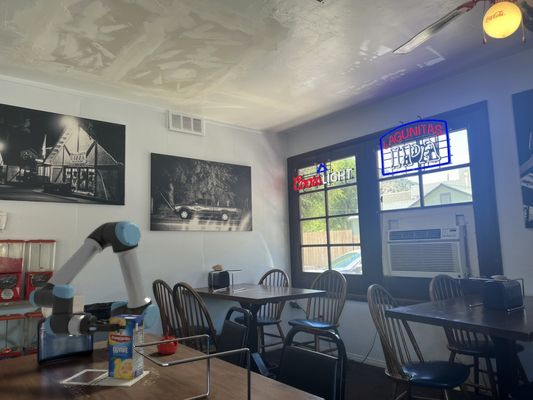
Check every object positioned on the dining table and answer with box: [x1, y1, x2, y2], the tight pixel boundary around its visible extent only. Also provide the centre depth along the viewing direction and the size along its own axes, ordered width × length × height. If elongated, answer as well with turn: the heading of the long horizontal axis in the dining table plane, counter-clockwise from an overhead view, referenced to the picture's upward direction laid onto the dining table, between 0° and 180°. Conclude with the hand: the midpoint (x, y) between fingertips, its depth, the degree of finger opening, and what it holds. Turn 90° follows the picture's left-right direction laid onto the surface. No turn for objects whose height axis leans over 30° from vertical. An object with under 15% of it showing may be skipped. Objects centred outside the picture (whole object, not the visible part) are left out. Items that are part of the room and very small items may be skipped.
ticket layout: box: [59, 369, 150, 388], centre depth 152 cm, size 16×28×1 cm, turn 81°
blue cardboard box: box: [107, 315, 145, 379], centre depth 153 cm, size 7×11×22 cm, turn 71°
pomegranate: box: [156, 332, 179, 355], centre depth 188 cm, size 10×10×9 cm
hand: (139, 325), depth 152 cm, fingers closed on blue cardboard box, 3 cm apart
